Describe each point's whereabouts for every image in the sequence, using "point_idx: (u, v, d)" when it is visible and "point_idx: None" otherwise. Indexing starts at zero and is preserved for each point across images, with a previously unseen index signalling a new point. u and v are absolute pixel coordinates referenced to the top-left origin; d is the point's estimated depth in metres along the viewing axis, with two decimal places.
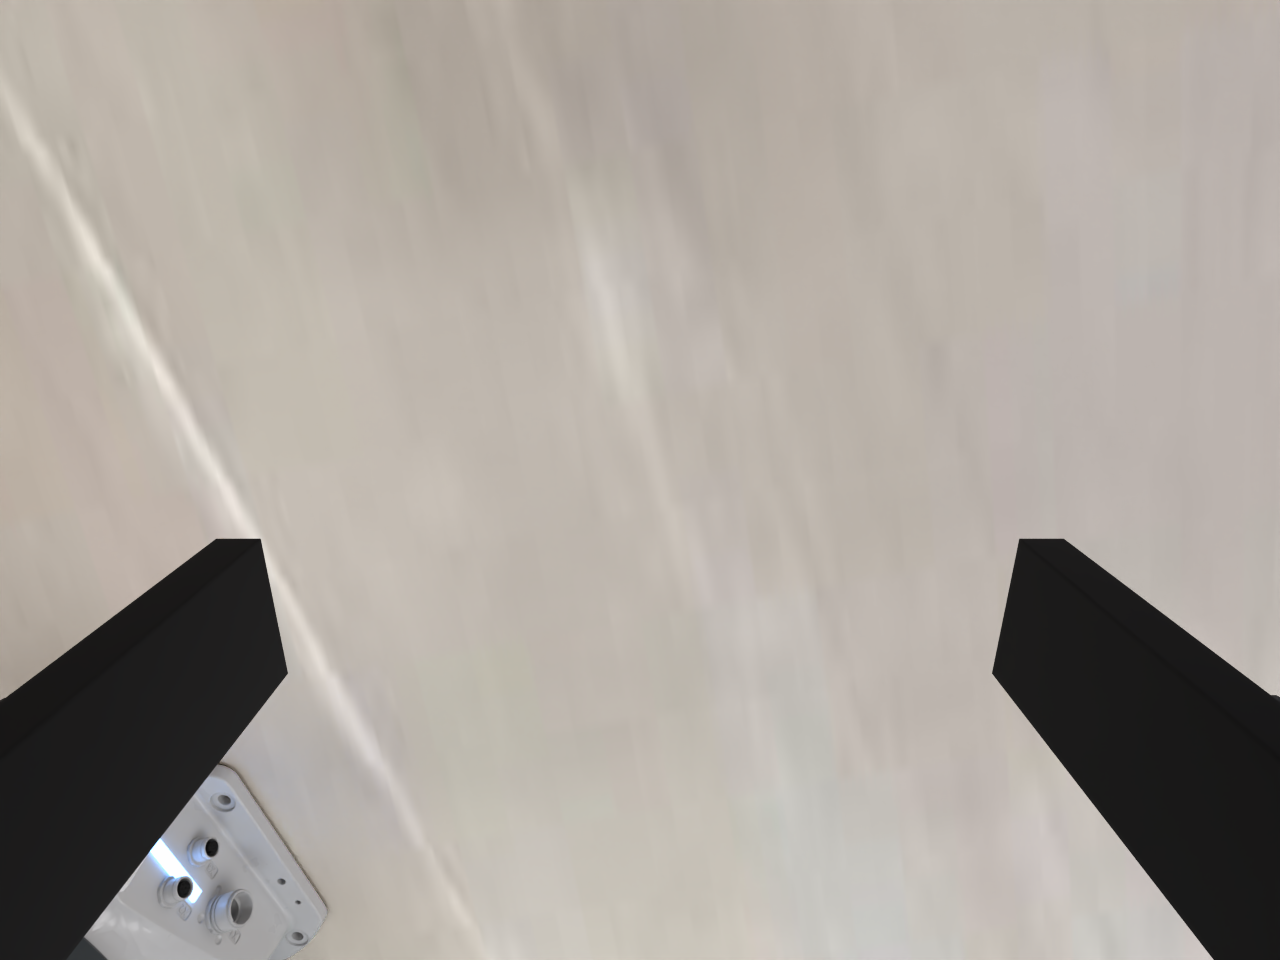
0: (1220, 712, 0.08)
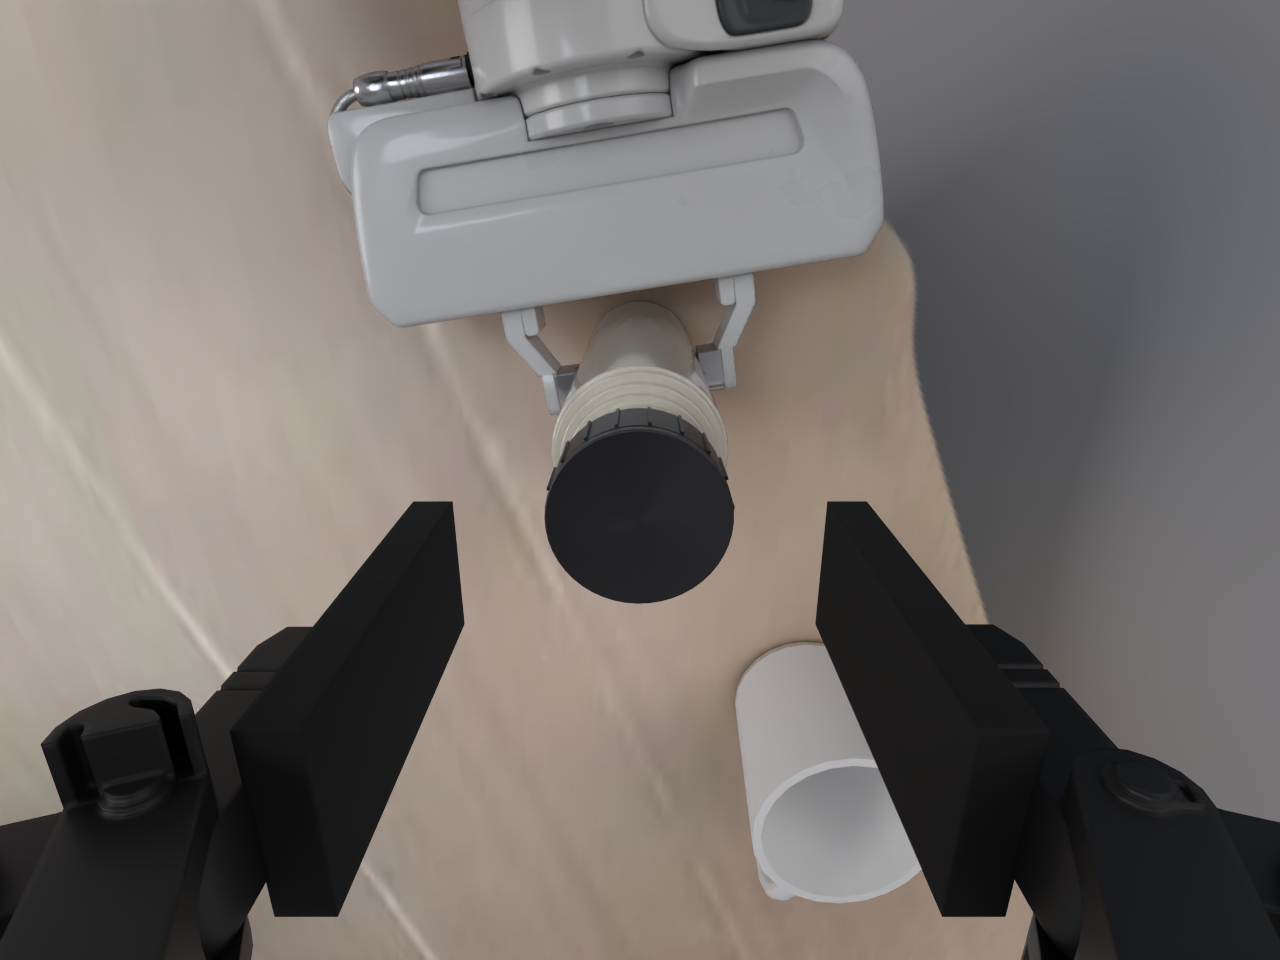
0: (912, 630, 0.09)
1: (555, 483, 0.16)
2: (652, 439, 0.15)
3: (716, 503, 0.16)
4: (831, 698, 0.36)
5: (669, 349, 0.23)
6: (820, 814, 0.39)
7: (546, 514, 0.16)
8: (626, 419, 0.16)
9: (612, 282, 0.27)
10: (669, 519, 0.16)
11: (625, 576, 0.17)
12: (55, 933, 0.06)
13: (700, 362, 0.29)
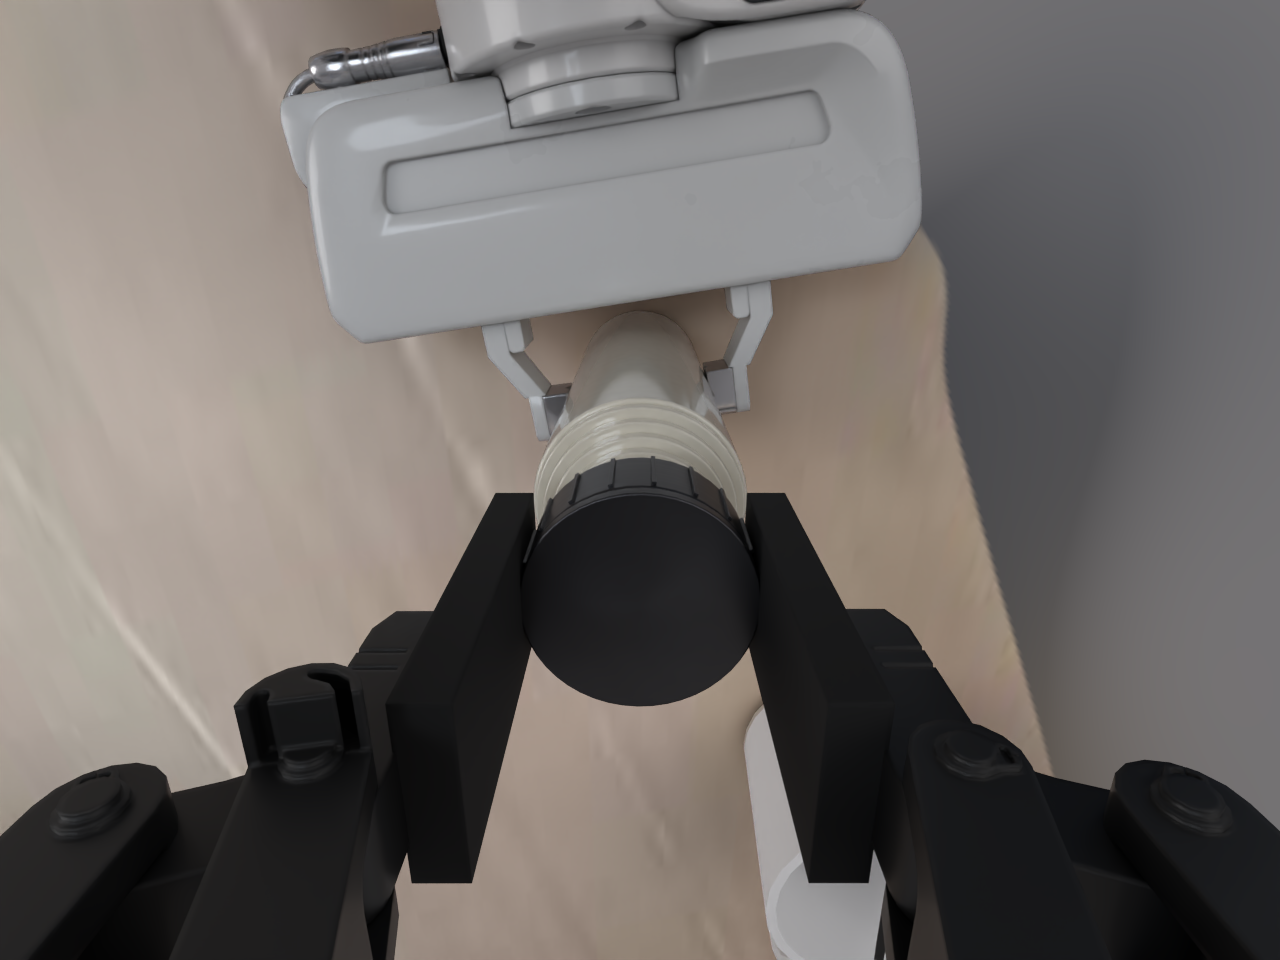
0: (793, 612, 0.10)
1: (532, 560, 0.12)
2: (657, 505, 0.12)
3: (739, 585, 0.12)
4: None
5: (675, 373, 0.20)
6: None
7: (521, 598, 0.13)
8: (623, 476, 0.13)
9: (609, 292, 0.24)
10: (679, 604, 0.13)
11: (622, 673, 0.13)
12: (244, 885, 0.06)
13: (709, 382, 0.26)
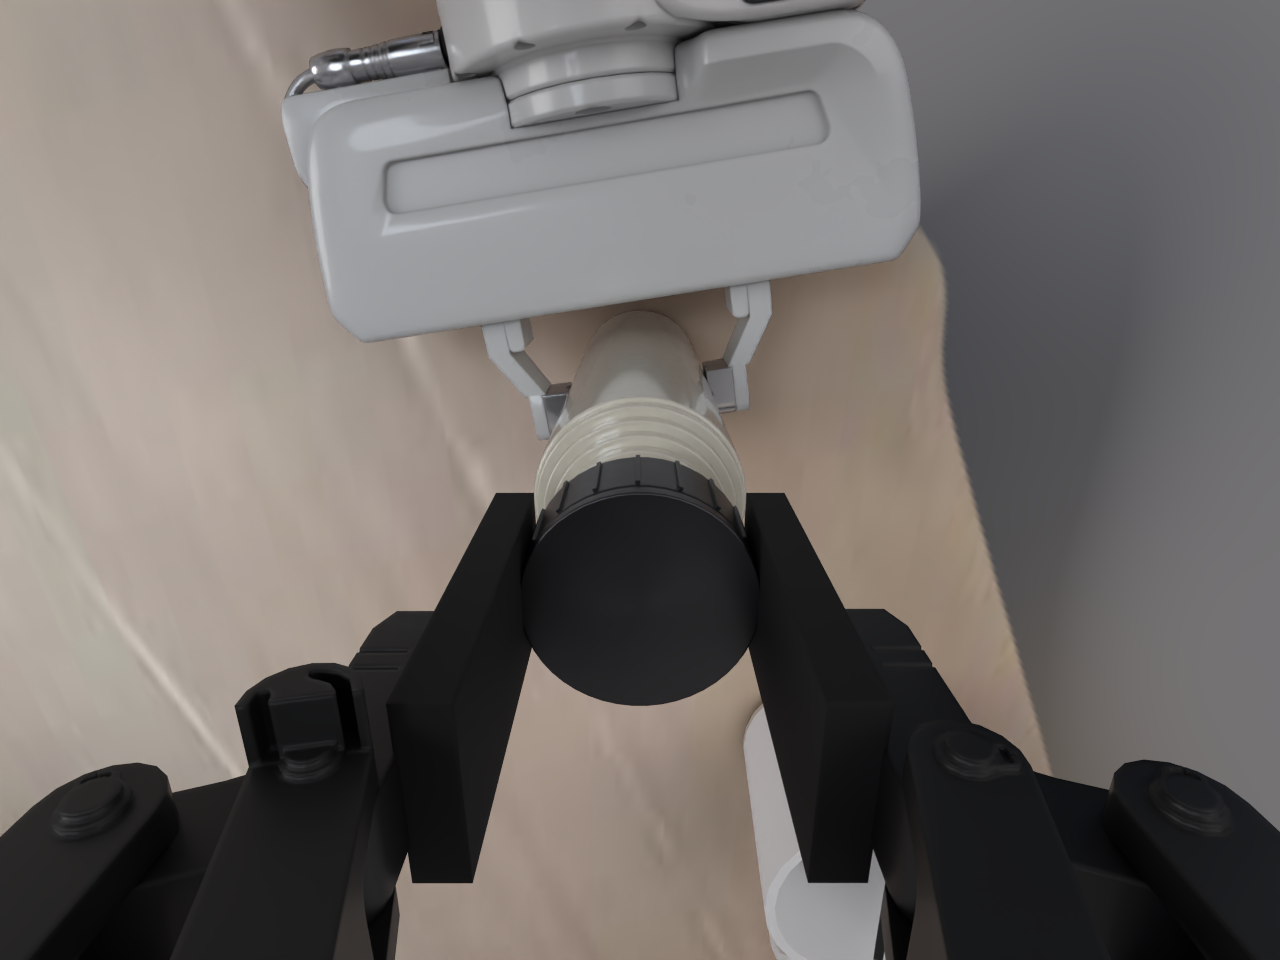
0: (792, 612, 0.10)
1: (585, 692, 0.13)
2: (530, 587, 0.12)
3: (618, 515, 0.12)
4: None
5: (675, 372, 0.20)
6: None
7: (626, 703, 0.13)
8: None
9: (608, 291, 0.24)
10: (639, 570, 0.12)
11: (718, 624, 0.13)
12: (245, 886, 0.06)
13: (709, 381, 0.26)
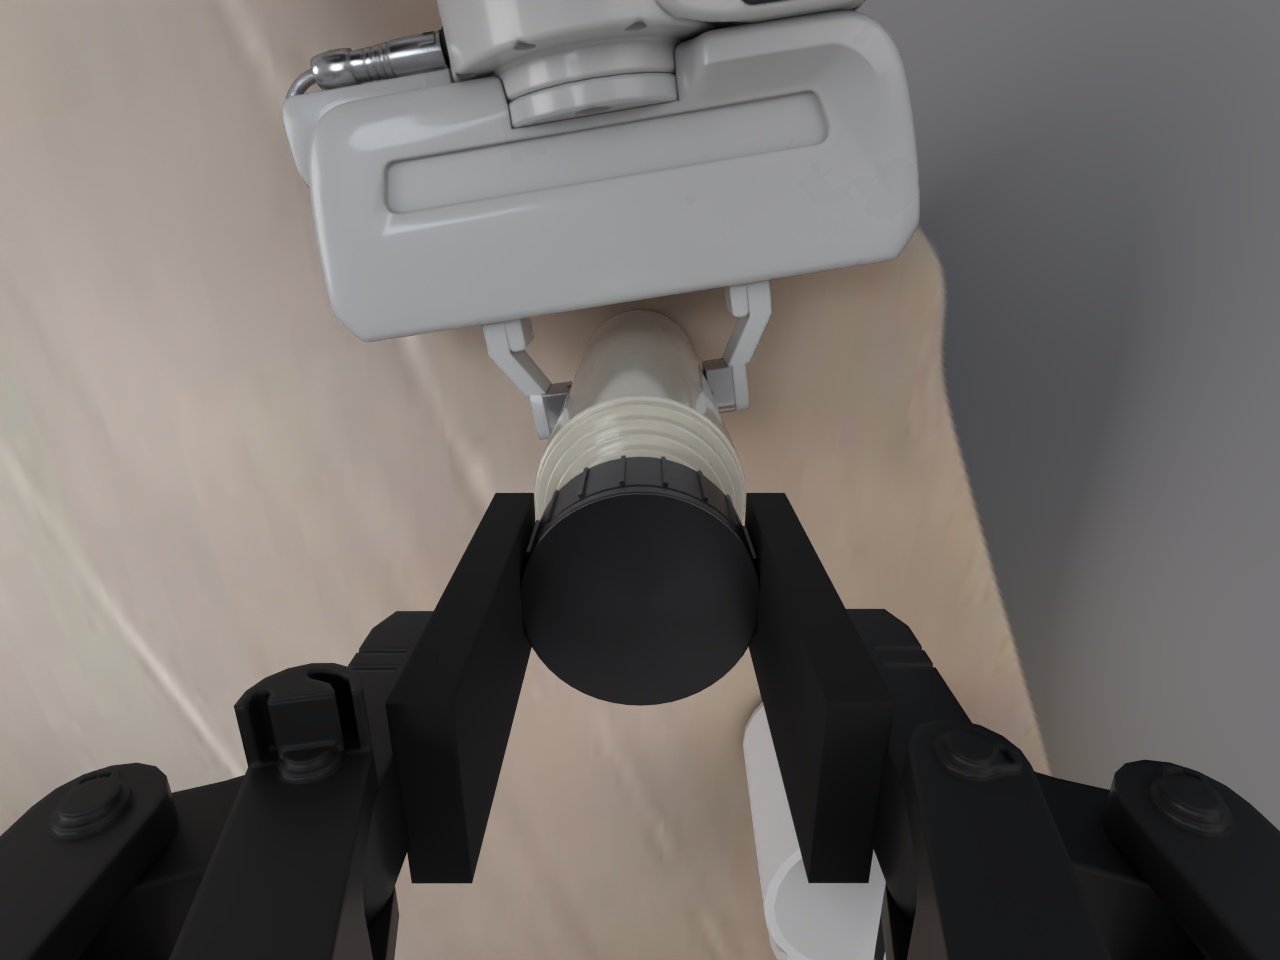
0: (793, 612, 0.10)
1: (737, 658, 0.13)
2: (615, 695, 0.13)
3: (540, 619, 0.13)
4: None
5: (675, 371, 0.20)
6: None
7: (756, 622, 0.13)
8: None
9: (608, 291, 0.24)
10: (601, 604, 0.13)
11: (666, 534, 0.12)
12: (244, 885, 0.06)
13: (708, 381, 0.26)
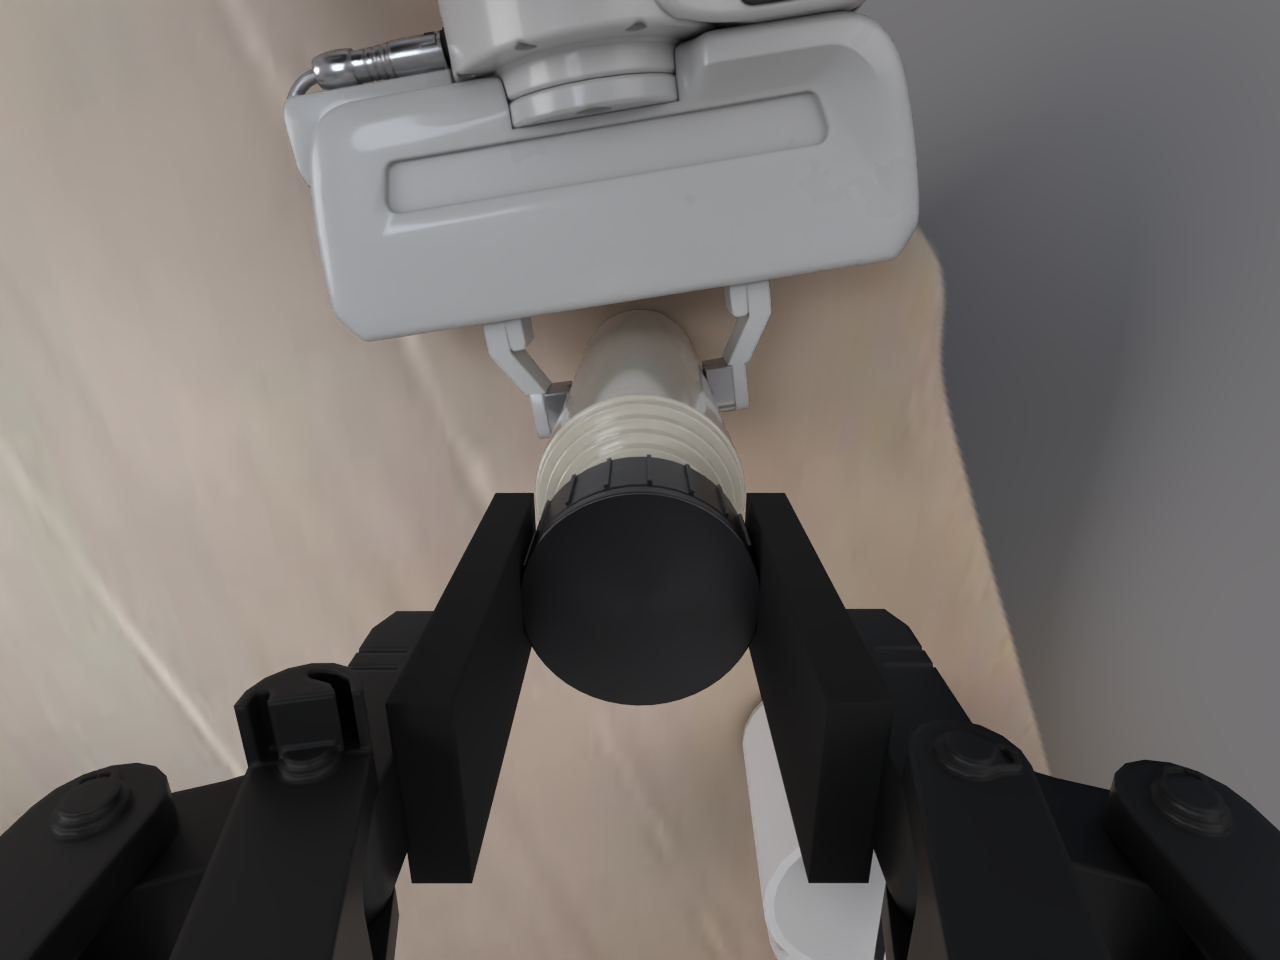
0: (793, 612, 0.10)
1: (709, 516, 0.12)
2: (744, 632, 0.13)
3: (650, 690, 0.13)
4: None
5: (674, 370, 0.20)
6: None
7: (666, 497, 0.12)
8: None
9: (609, 290, 0.24)
10: (637, 639, 0.13)
11: (562, 579, 0.12)
12: (244, 887, 0.06)
13: (708, 380, 0.26)
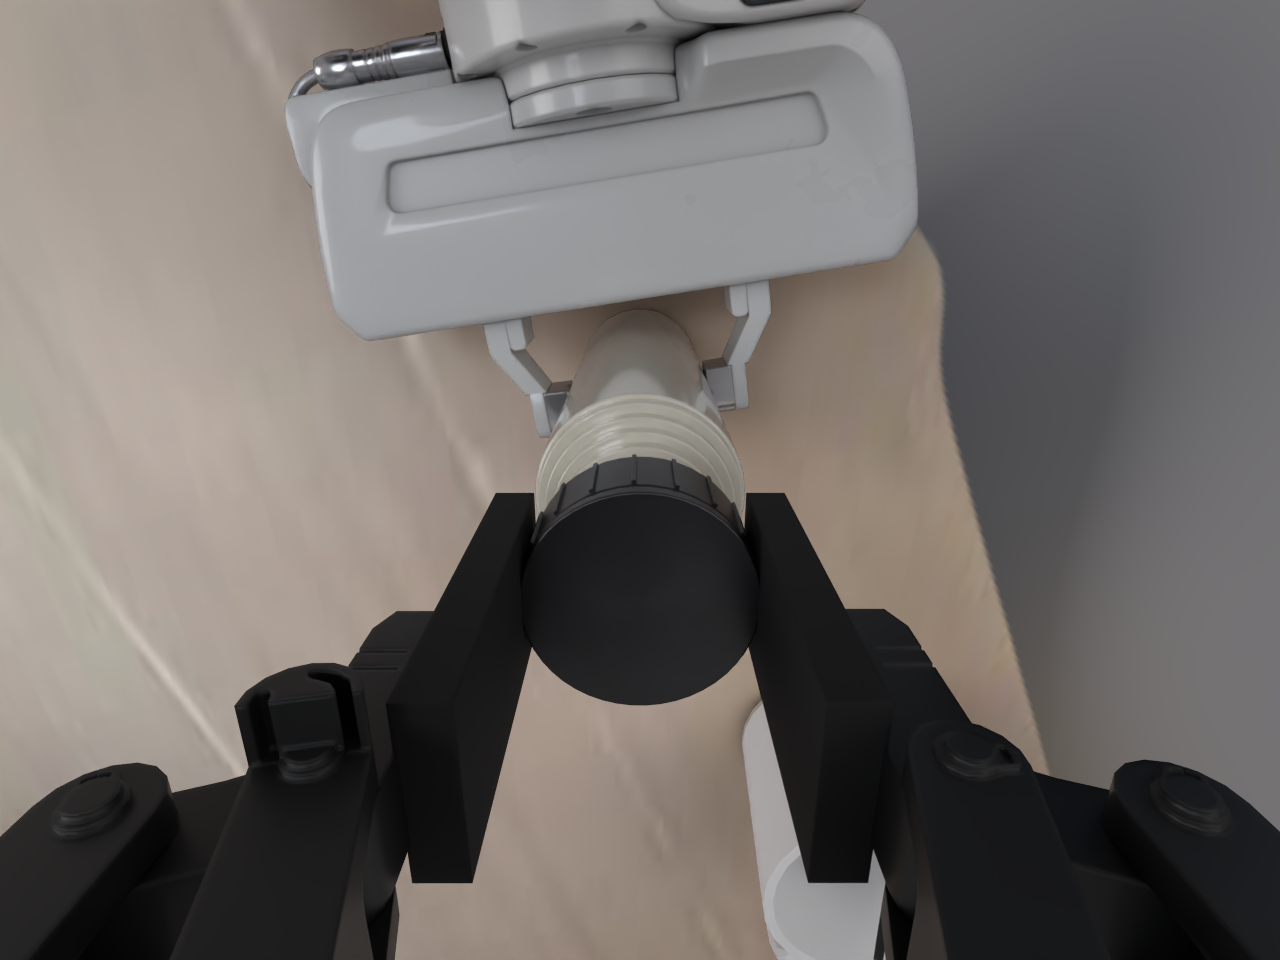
0: (793, 612, 0.10)
1: (543, 542, 0.12)
2: (678, 509, 0.12)
3: (741, 600, 0.13)
4: None
5: (674, 370, 0.20)
6: None
7: (523, 578, 0.12)
8: (646, 474, 0.13)
9: (609, 290, 0.24)
10: (678, 610, 0.13)
11: (608, 669, 0.13)
12: (244, 886, 0.06)
13: (708, 380, 0.26)
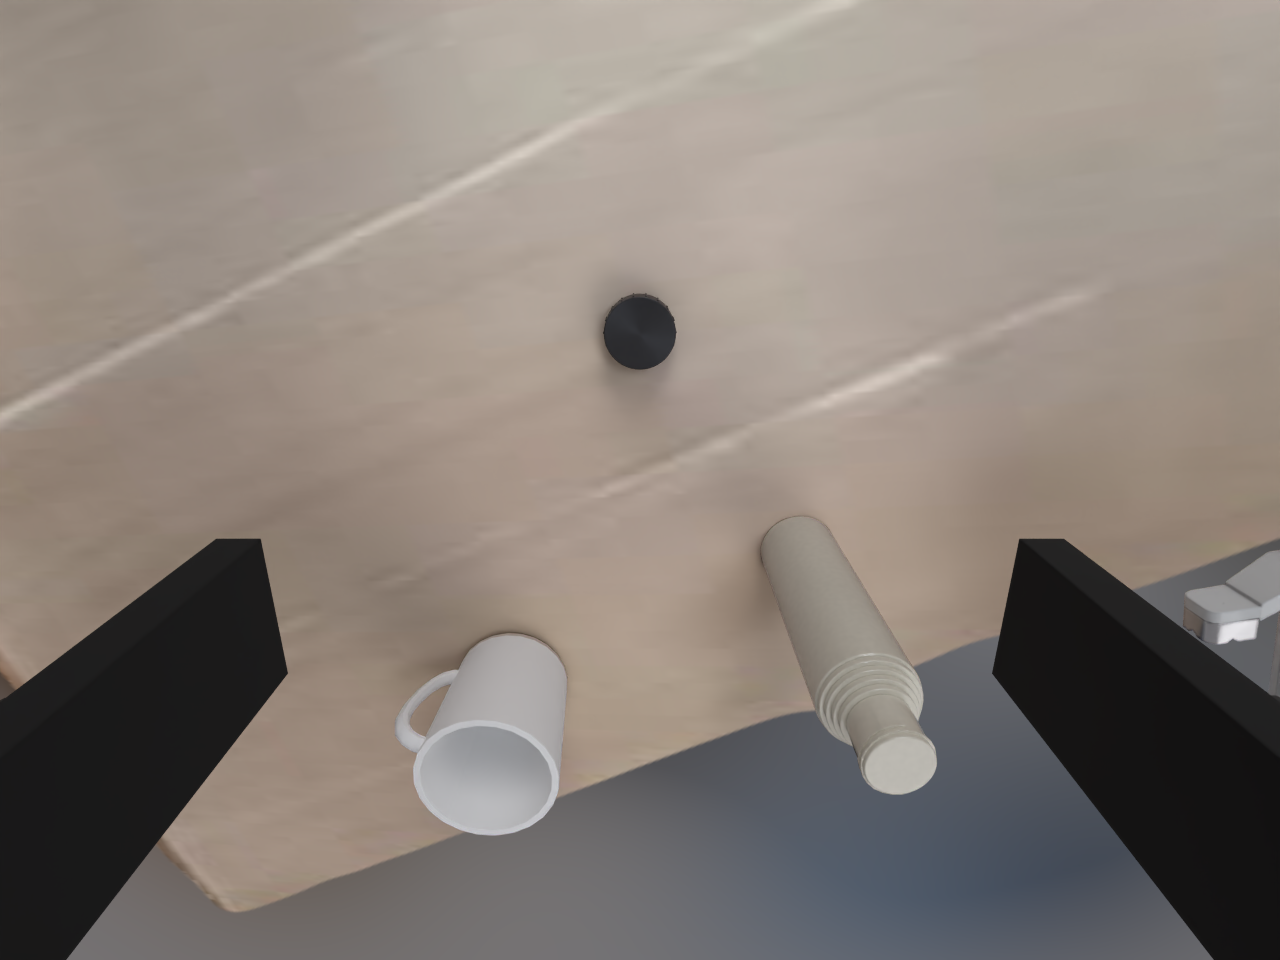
0: (1220, 712, 0.08)
1: (618, 360, 0.43)
2: (609, 321, 0.42)
3: (639, 303, 0.42)
4: (563, 728, 0.48)
5: None
6: None
7: (629, 367, 0.43)
8: None
9: None
10: (642, 322, 0.42)
11: (661, 344, 0.43)
12: None
13: None
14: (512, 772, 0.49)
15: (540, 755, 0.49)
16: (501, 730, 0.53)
